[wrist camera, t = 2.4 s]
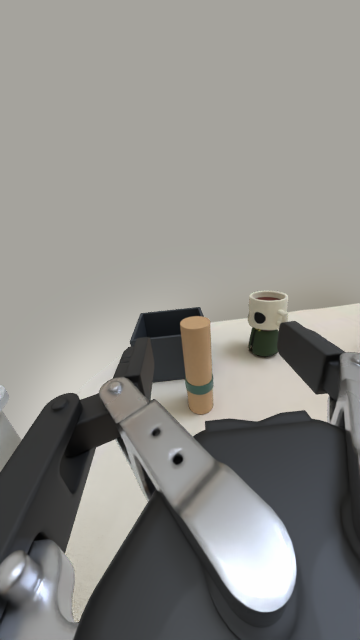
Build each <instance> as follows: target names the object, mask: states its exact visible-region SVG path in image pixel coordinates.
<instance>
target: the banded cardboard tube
mask: <svg viewBox="0 0 360 640" xmlns="http://www.w3.org/2000/svg"><path fill="white" fill-rule="evenodd" d="M180 329H181V338H182V347H183V356H184V366H185V384H186V388H187V394H188V403H189V408H190V410H191V411H192V412H194V413H196V414H206V413H208V412H210V411H211V409H212V408H213V374H212V360H211V333H210V320H209V319H208V318H206V317H201V316H193V317H188V318H185V319H183V320H182V321H181V322H180Z"/></svg>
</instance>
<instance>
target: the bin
mask: <svg viewBox="0 0 360 640" xmlns="http://www.w3.org/2000/svg"><path fill="white" fill-rule="evenodd" d="M193 316H201V317H204V316H203V314H202V311H201V308H200V307H196V308H187V309H176V310H167V311H158V312H148V313H141V314H140V317H139V319H138V322H137V324H136V327H135V329H134V332H133V335H132V337H131V340H130V344H131V347H133V346H134V345H135V342H136V339H137V338H142V337H149V338H150V341H151V347H152V352H153V357H154V374H153V382H160V381H170V380H179V379H185V366H184V356H183V347H182V338H181V329H180V322H181V321H182V320H183V319H185V318H188V317H193Z"/></svg>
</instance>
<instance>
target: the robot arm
mask: <svg viewBox="0 0 360 640" xmlns="http://www.w3.org/2000/svg"><path fill="white" fill-rule="evenodd" d="M277 349H278V352H279V354H280V355H281V357H282V358H283V359H284V360H285V361H286V362H287V363H288V364H289V365H290V366H291V367H292V369H293V370H294V371H295V372H296V373H297V374H298V375H299V376H300V377H301V378H302V380H303V381H304V382H305V383H306V384H307V385H308V386H309V387H310V388H311V389H312V390H313V392H314V393H315V394H325V393H328V394H329V397H328V409H327V422H324V421H320V420H315V419H311V417H310V416H309V415H308V414H307V412H306V411H305V410H304V411H294V412H285V413H279V414H277V415H274V416H272V417H269V418H266V419H264V420H261V421H258V422H255V421H246V420H237V419H221V420H212V421H205V429H206V430H204V431H201V432H199V433H198V434H196V435H195V436H193V437H192V436H191V435H190V434H189V433H188V432H187V431H186V430H185V428H184V427H183V426H182V425H181V424H180V423H179V422H178V421H177V420H176V419H175V418H174V417H173V416H172V415H171V414H170V413H169V412H168V411H167V410H166V409H165V408H164V407H163V406H162V405H161V404H160V403H159V402H158V401H157V400H155V399H153V400H151V401H150V398H151V390H152V382H153V374H154V357H153V352H152V347H151V341H150V338H149V337H142V338H137V339H136V342H135V345H134V346H133V347H128V348H127V349H126V350H125V351H124V352H123V354H122V357H121V359H120V362H119V364H118V367H117V369H116V372H115V374H114V377H113V379H111V380H109V381H107V382H106V383H105V384H104V385H103V386H102V387H101V388H100V390H99V393H98V394H96V395H93V396H90V397H87V398H84V399H81V400H80V399H79V397H78V395H77V394H74V393H67V394H63V395H60V396H58V397H56V398H54V399H53V400H51V401H50V402H49V403H48V404H47V405H46V406H45V407H44V408H43V410H42V411H41V413H40V414H39V416H38V417H37V419H36V420H35V421H34V423H33V424H32V426H31V427H30V429H29V430H28V432H27V433H26V435H25V436H24V438H23V439H22V441H21V442H20V444H19V445H18V447H17V448H16V450H15V451H14V453H13V454H12V456H11V457H10V459H9V460H8V462H7V463H6V465H5V466H4V468H3V469H2V471H1V472H0V640H360V353H355V352H344V351H343V350H341V349H340V348H338V347H337V346H335V345H334V344H332V343H331V342H329V341H327V340H326V339H325V338H323V337H321V335H319V334H318V333H316V332H314V331H312V330H309V329H307V328H305V327H303V326H302V325H300V324H299V323H297V322H296V321H291V322H282V323H281V324H280V326H279V333H278V342H277ZM114 439H115V440H116V442H117V444H118V445H119V447H120V449H121V451H122V453H123V454H124V456H125V458H126V460H127V462H128V463H129V465H130V467H131V469H132V471H133V473H134V475H135V477H136V479H137V482H138V484H139V486H140V488H141V490H142V492H143V494H144V496H145V497H146V499H147V501H148V503H147V505H146V506H145V508H144V510H143V511H142V513H141V515H140V516H139V518H138V519H137V521H136V523H135V524H134V526H133V528H132V529H131V531H130V532H129V534H128V536H127V537H126V539H125V541H124V542H123V544H122V545H121V547H120V549H119V550H118V552H117V554H116V555H115V557H114V558H113V560H112V562H111V563H110V565H109V567H108V568H107V570H106V571H105V573H104V575H103V576H102V578H101V580H100V581H99V583H98V584H97V586H96V588H95V589H94V591H93V593H92V595H91V597H90V599H89V601H88V603H87V605H86V607H85V609H84V612H83V614H82V616H81V619H80V621H79V622H78V623H75V622H74V618H73V614H72V597H73V590H74V583H75V573H74V568H73V565H72V563H71V561H70V560H69V559H68V557H67V556H66V555H65V551H66V548H67V544H68V541H69V538H70V534H71V531H72V527H73V524H74V521H75V517H76V514H77V510H78V507H79V504H80V500H81V497H82V493H83V490H84V487H85V483H86V480H87V476H88V473H89V470H90V466H91V463H92V459H93V456H94V453H95V449H96V447H98V446H100V445H103V444H105V443H107V442H110V441H112V440H114Z"/></svg>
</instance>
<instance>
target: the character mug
mask: <svg viewBox="0 0 360 640" xmlns="http://www.w3.org/2000/svg"><path fill="white" fill-rule="evenodd" d="M287 303H288V296H287V294H285V293H281V292H277V291H257V292H254V293H252V294H250V298H249V315H248V322H249V325H250V326H251V327H253V328H252V331H251V335H250V340H249V346H248V347H249V350H250V346H252V348H253V349H252V353H254V354H256V355H259V356H270V355H273V354H275V353H277V352H278V349H277V342H278V333H279V331H278V329H279V326H280V324H281V323H282V322H287V320H288V313H287V312H286V311H287Z"/></svg>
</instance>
